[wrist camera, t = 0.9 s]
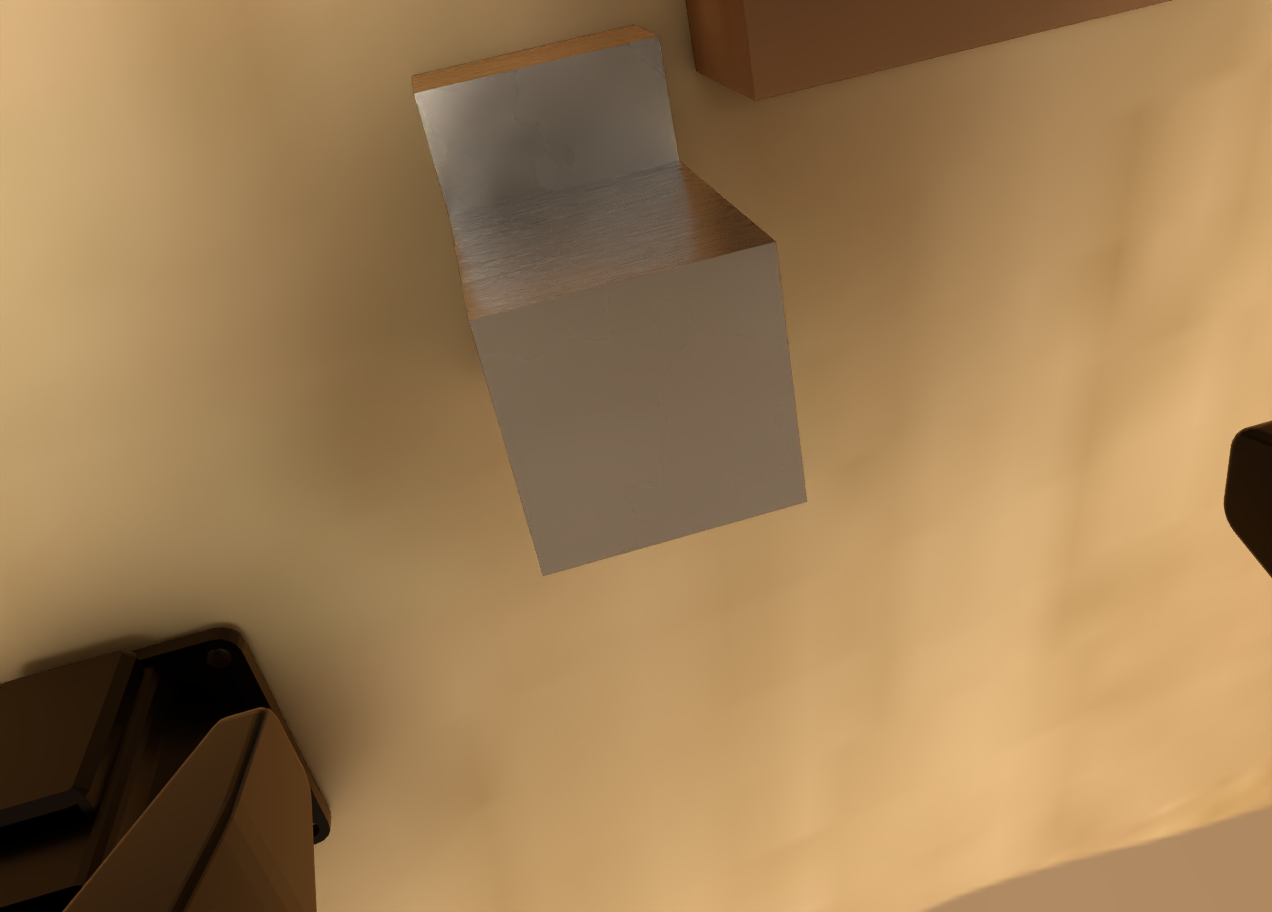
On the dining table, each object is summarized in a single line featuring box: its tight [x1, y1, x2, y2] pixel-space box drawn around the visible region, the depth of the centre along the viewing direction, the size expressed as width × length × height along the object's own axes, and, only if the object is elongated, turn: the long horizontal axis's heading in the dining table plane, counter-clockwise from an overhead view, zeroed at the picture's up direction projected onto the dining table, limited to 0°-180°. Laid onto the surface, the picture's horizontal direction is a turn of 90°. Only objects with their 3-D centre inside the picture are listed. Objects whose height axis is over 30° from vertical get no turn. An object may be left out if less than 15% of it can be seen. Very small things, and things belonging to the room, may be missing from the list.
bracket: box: [412, 25, 807, 576], centre depth 16 cm, size 6×4×7 cm, turn 11°
